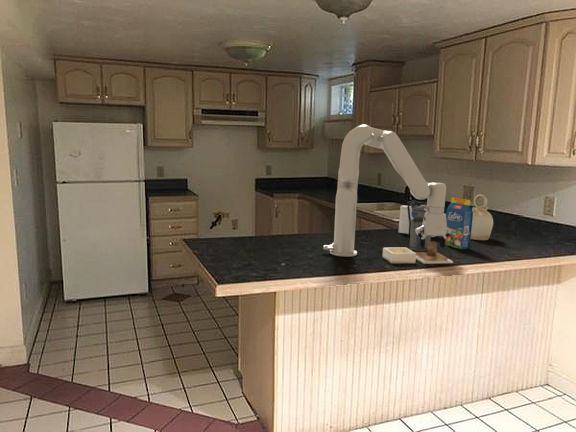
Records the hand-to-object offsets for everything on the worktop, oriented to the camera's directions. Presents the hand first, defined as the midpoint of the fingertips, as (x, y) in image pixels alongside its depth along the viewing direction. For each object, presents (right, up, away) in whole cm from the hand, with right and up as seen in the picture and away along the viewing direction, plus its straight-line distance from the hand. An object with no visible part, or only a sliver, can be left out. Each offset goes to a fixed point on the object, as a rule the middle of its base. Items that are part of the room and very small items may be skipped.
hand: (432, 247), depth 211 cm
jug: (+42, +1, +52) cm, 67 cm away
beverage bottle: (-1, -3, +19) cm, 19 cm away
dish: (-16, -6, -2) cm, 17 cm away
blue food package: (+21, -2, +29) cm, 36 cm away
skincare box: (+9, +3, +58) cm, 58 cm away
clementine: (-16, -5, -2) cm, 17 cm away
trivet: (0, -6, +1) cm, 6 cm away
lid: (0, -5, +1) cm, 5 cm away
